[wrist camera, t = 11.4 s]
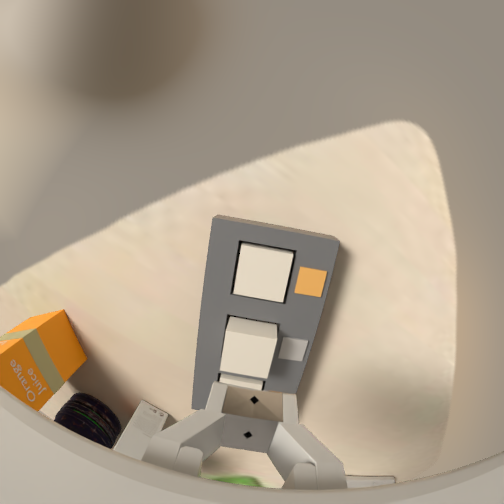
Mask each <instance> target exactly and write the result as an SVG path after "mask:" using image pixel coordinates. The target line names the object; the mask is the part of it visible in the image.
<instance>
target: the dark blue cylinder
mask: <svg viewBox="0 0 504 504" xmlns="http://www.w3.org/2000/svg"><path fill="white" fill-rule="evenodd" d="M54 422H56V423H58V424H60V425H62V426H63V427H65V428H67V429H69V430H71V431H73V432H75V433H77V434H79V435H81V436H83V437H85V438H87V439H89V440H91V441H93V442H95V443H98V444H100V445H102V446H105V447H107V448H109V449H111V448H112V447H113V445H114V443H115V440H116V438H117V436H118V434H119V433H120V431H121V425H120V422H119V420H118V418H117V417H116V415H115V414H114V413H113V412H112V411H111V410H110V409H109V408H108V407H107V406H106V405H105V404H103V403H102V402H101V401H99V400H98V399H96V398H94V397H92V396H90V395H88V394H84V393H76V394H74V395H73V396H72V397H71V399H70V400H69V401H68V402H67V403H65V404H64V405H63V407H62V408H61V409H60V411H59V412H58V413H57V415H56V417H55V420H54Z"/></svg>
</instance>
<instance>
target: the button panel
mask: <svg viewBox="0 0 504 504" xmlns="http://www.w3.org/2000/svg"><path fill="white" fill-rule="evenodd" d="M241 240H242V241H247V242H253V243H258V244H264V245H269V246H275V247H280V248H286V249H291V250H293V258H292V263H291V268H290V272H289V277H288V282H287V286H286V291H285V295H284V299H283V302H277V301H271V300H266V299H260V298H254V297H249V296H243V295H238V294H233V293H234V287H235V285H234V279H235V273H236V267H237V261H238V255H239V249H240V243H241ZM339 243H340V241H339V240H338V239H337V238H335V237H334V236H330V235H325V234H320V233H315V232H310V231H305V230H300V229H294V228H289V227H284V226H278V225H273V224H268V223H262V222H257V221H251V220H245V219H240V218H234V217H228V216H222V215H217V216H215V217H213V219H212V226H211V233H210V240H209V247H208V254H207V262H206V269H205V277H204V285H203V293H202V302H201V310H200V319H199V329H198V338H197V348H196V359H195V370H194V382H193V395H192V409H195V410H200V409H204V410H205V408H206V405H207V401H208V398H209V395H210V392H211V388H212V385H213V382H214V381H217V382H219V376H220V373H222V374H227V375H233V376H238V377H244V378H250V379H256V380H262V381H263V385H262V389H261V390H264V391H271V392H279V393H291V394H296V392H297V389H298V386H299V383H300V381H301V378H302V375H303V372H304V369H305V366H306V363H307V360H308V357H309V353H310V350H311V347H312V344H313V341H314V337H315V334H316V331H317V327H318V324H319V321H320V317H321V314H322V310H323V306H324V303H325V299H326V295H327V292H328V288H329V284H330V280H331V276H332V272H333V268H334V264H335V260H336V256H337V252H338V247H339ZM229 315H234V316H239V317H245V318H250V319H256V320H261V321H267V322H273V323H277V342H276V346H275V350H274V354H273V358H272V362H271V366H270V370H269V373H268V377H267V379H266V378H260V377H254V376H248V375H242V374H236V373H231V372H226V371H221V370H220V366H221V359H222V352H223V346H224V339H225V333H226V328H227V323H228V317H229Z"/></svg>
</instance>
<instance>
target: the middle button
mask: <svg viewBox="0 0 504 504" xmlns="http://www.w3.org/2000/svg"><path fill="white" fill-rule="evenodd" d="M276 342H277V325H276V324H270V323H264V322H259V321H253V320H247V319H242V318H237V317H231V316H230V319H229V322H228V325H227V328H226V333H225V339H224V346H223V352H222V359H221V366H220V370H221V371H226V372H231V373H236V374H242V375H248V376H254V377H260V378H266V379H267V377H268V373H269V370H270V366H271V362H272V358H273V354H274V350H275V346H276Z"/></svg>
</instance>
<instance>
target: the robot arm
mask: <svg viewBox="0 0 504 504" xmlns="http://www.w3.org/2000/svg"><path fill="white" fill-rule="evenodd" d="M220 446H223V447H229V448H236V449H244V450H249V451H256V452H262V453H267V455H268V456H269V458H270V460H271V461H272V463H273V464H274V466H275V467H276V469H277V470H278V472H279V473H280V475H281V476H282V478H283V479H284V481H285V483H284V485H283V486H282V488H281V489H277V488H265V487H255V486H247V485H239V484H233V483H226V482H221V481H215V480H210V479H205V478H201V477H200V475H201V466H202V462H203V461H204V460H205V459H207V458H208V457H209V456H210V455H211V454H212V453H214V452H215V451H216V450H217V449H218V448H219V447H220ZM0 504H504V451H502V452H500V453H498V454H496V455H493V456H491V457H488V458H486V459H483V460H480V461H478V462H475V463H472V464H469V465H466V466H463V467H460V468H457V469H454V470H450V471H447V472H444V473H440V474H436V475H432V476H428V477H424V478H420V479H415V480H410V481H405V482H399V483H395V479H394V477H392V476H389V477H363V476H345V471H344V466H343V463H342V462H341V461H340V460H339V459H338V458H337V457H336V456H335V455H334V454H333V453H332V452H331V451H330V450H328V449H327V448H326V447H325V446H324V445H323V444H322V443H321V442H320V441H319V440H318V439H317V438H316V437H315V436H314V435H313V434H312V433H311V432H310V431H309V430H308V429H307V428H306V427H305V426H304V425H303V424H299V416H298V406H297V396H296V394H291V393H279V392H271V391H264V390H257V389H252V388H247V387H241V386H237V385H232V384H226V383H222V382H217V381H214V382H213V385H212V388H211V392H210V395H209V398H208V401H207V405H206V408H205V410H204V409H200V410H198V411H196V412H195V413H193V414H191V415H189V416H188V417H186V418H184V419H182V420H181V421H179V422H177V423H175V424H173V425H172V426H170V427H168V428H166V429H164V430H162V431H160V432H159V433H157V434H155V435H153V436H152V438H151V440H150V442H149V445H148V447H147V449H146V451H145V453H144V455H143V457H142V459H141V460H138V459H135V458H132V457H129V456H127V455H124V454H122V453H119V452H116V451H114V450H112V449H109V448H107V447H105V446H102V445H100V444H98V443H95V442H93V441H91V440H89V439H87V438H85V437H83V436H81V435H79V434H77V433H75V432H73V431H71V430H69V429H67V428H65V427H63V426H62V425H60V424H58V423H56V422H54V421H53V420H51V419H49V418H47V417H46V416H44V415H42V414H41V413H39V412H38V411H36V410H34V409H33V408H31V407H30V406H28V405H27V404H25V403H24V402H22V401H21V400H19V399H18V398H16V397H15V396H14V395H12V394H11V393H9V392H8V391H7V390H5V389H4V388H3V387H1V386H0Z"/></svg>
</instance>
